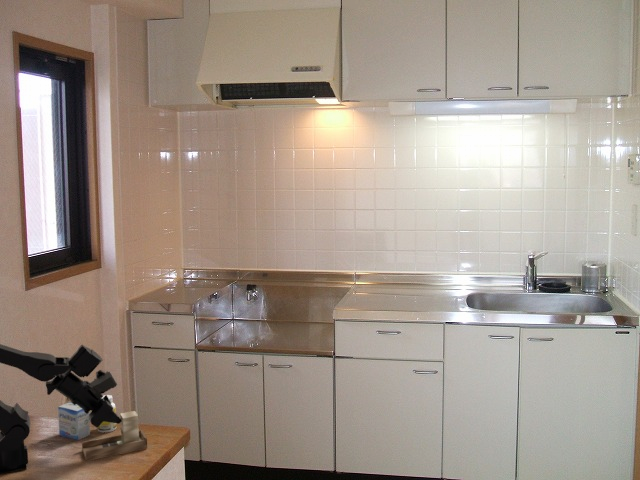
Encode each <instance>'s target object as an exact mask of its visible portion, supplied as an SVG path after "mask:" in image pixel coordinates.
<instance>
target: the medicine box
mask: <svg viewBox="0 0 640 480" xmlns="http://www.w3.org/2000/svg"><path fill="white" fill-rule="evenodd" d="M57 409H58V413H57V414H58V435H59V436H60V437H65V438H68V437H69V438H68V439H72V440H77V441H80V440H82V439H81V438H83V439H85V438H87V437H88V435H89V436H91V433H90V432H91V428H90V427H91V426H90V424H91V423H90V420H89V414H90V411H89V412H88V414H87V413H85V412H84V409H82V408H81V407H79V406H78V405H77V404H76V405H74V404H72V402H67V403H64V404H61V405H59V406H58V407H57ZM86 436H87V437H86ZM84 437H85V438H84Z"/></svg>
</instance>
